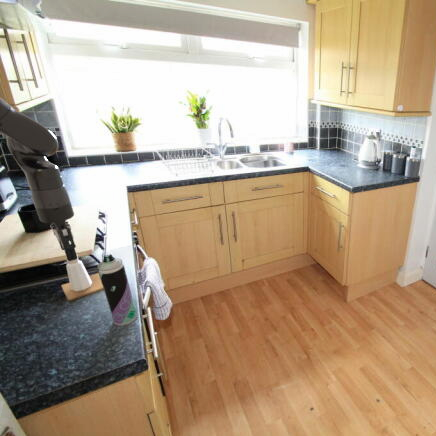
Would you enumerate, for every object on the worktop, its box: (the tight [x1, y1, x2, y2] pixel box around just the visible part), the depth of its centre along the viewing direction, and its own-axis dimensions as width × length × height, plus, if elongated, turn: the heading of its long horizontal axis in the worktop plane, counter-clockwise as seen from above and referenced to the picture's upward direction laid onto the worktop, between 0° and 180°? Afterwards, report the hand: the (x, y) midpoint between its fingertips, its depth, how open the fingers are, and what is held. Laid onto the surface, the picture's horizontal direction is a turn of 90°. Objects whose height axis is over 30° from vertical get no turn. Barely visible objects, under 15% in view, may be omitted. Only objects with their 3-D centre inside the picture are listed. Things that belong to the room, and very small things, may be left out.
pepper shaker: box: [65, 253, 92, 291], centre depth 96 cm, size 5×5×11 cm
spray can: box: [97, 253, 138, 327], centre depth 83 cm, size 6×6×20 cm
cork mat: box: [60, 272, 104, 302], centre depth 98 cm, size 12×10×1 cm
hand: (69, 254), depth 93 cm, fingers open, 8 cm apart
